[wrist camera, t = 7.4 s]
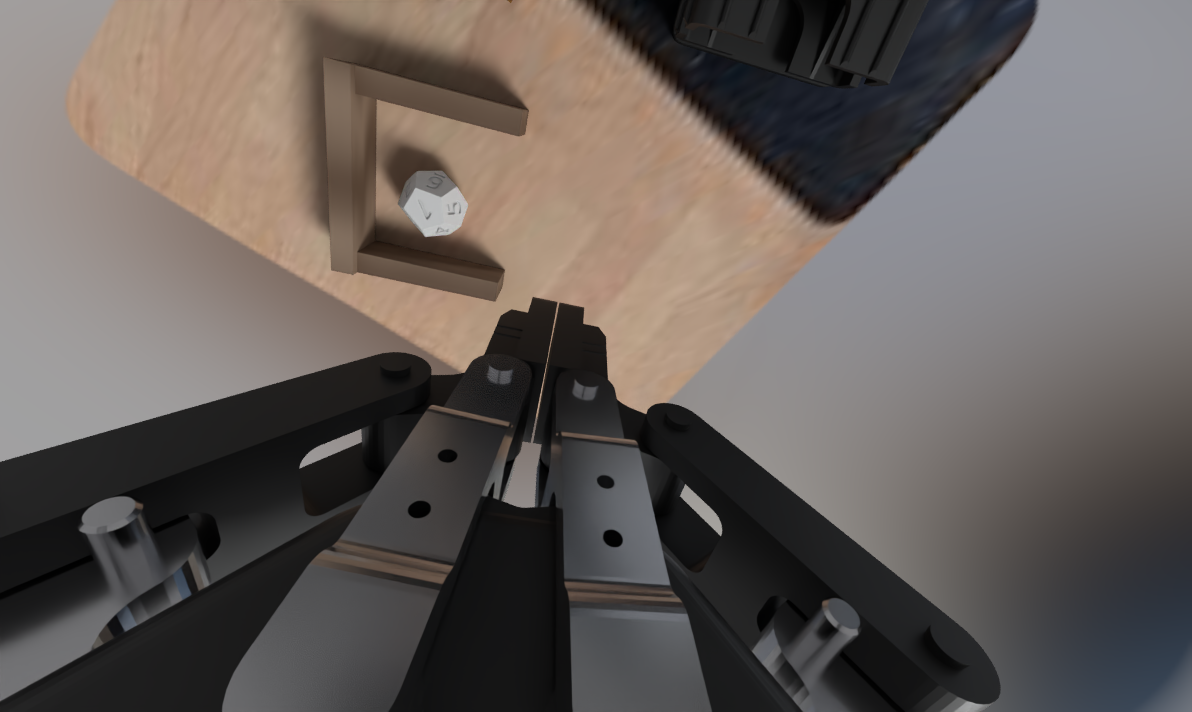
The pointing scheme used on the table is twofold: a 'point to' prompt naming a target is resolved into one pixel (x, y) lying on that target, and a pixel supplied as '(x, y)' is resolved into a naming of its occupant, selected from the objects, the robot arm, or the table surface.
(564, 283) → the table surface
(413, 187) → the game die
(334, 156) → the dice corral
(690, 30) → the end cap
